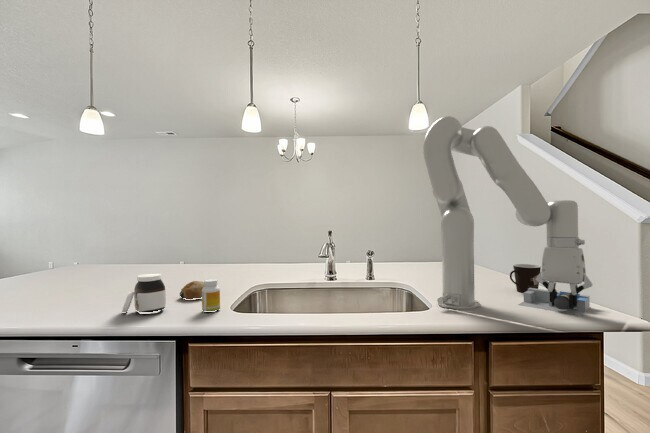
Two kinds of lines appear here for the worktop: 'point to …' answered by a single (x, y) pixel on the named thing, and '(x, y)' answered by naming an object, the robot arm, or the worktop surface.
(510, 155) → the robot arm
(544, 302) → the grey ledge plate
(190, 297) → the bread roll
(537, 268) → the coffee mug
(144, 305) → the spread jar
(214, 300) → the supplement bottle
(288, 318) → the worktop surface
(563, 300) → the banded gray canister
